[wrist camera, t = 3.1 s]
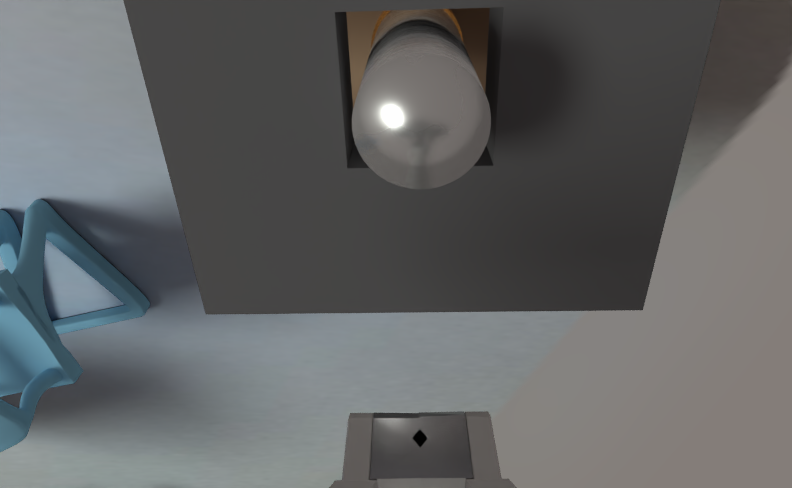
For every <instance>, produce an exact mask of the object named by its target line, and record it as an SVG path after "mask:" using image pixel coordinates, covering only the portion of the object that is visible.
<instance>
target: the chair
mask: <svg viewBox="0 0 792 488" xmlns="http://www.w3.org/2000/svg"><path fill="white" fill-rule="evenodd" d="M46 238H47V239H48V240H49V241H50V242H51V243H52V244H53V245H55V246H56V247H57V248H58V249H59V250H60V251H62V252H63V253H64V254H65V255H66V256H68V257H69V258H70V259H71V260H72V261H74V262H75V263H76V264H77V265H78V266H80V267H81V268H82V269H83V270H84V271H86V272H87V273H88V274H89V275H90V276H92V277H93V278H94V279H95V280H97V281H98V282H99V283H100V284H101V285H103V286H104V287H105V288H106V289H107V290H109V291H110V292H111V293H112V294H113V295H115V296H116V297H117V298H118V299H119V300H121V301H122V302H123V303H124V304H125V305H123V306H118V307H114V308H109V309H105V310H100V311H95V312H91V313H86V314H82V315H77V316H73V317H68V318H64V319H59V320H55V321H51V319H50V317H49V315H48V311H47V308H46V305H45V300H44V295H43V266H44V251H45V241H46ZM0 256H1V258H2V261H3V264H4V266H5V270H1V271H0V397H2V396H6V395H11V394H16V393H21V392H23V393H22V396H21V400H20V407H19V408H17V407H14V406H12V405H10V404H9V403H7V402H5V401H4V400H2V399H1V398H0V452H2V451H4V450H6V449H8V448H10V447H12V446H14V445H16V444H17V443H19V442H20V441H22V440H23V439H24V438H25V437H26V436H27V434H28V431H29V428H30V425H31V422H32V420H33V417H34V413H35V409H36V406H37V403H38V401H39V399H40V397H41V396H42V394H43V393H44V392H45V391H46V390H47V389H48V388H53V387H58V386H63V385H68V384H74V383H75V382H76V381H77V379H78V378H79V377H80V375H81V374H82V372H83V369H82V368H81V367H80V365H79V364H78V363H77V361H76V360H75V359H74V357H73V356H72V355H71V353H70V352H69V351H68V350H67V349H66V348H65V347H64V346H63V345H62V343H61V340H60V338H59V336H58V334H63V333H68V332H72V331H77V330H82V329H86V328H91V327H96V326H100V325H105V324H110V323H114V322H119V321H123V320H128V319H133V318H137V317H142V316H143V315H145V313H146V311H147V309H148V308H149V306H150V302H149V301H148V299H147V298H146V297H145V296H144V295H143V294H142V293H141V292H140V291H139V289H138V288H136V287H135V286H134V285H133V284H132V283H131V282H130V281H129V280H128V279H127V278H126V277H125V276H124V275H122V274H121V273H120V272H119V271H118V270H117V269H116V268H115V267H114V266H112V265H111V264H110V263H109V262H108V261H107V260H106V259H105V258H104V257H103V256H101V255H100V254H99V253H98V252H97V251H96V250H95V249H94V248H93V247H91V246H90V245H89V244H88V243H87V242H86V241H85V240H84V239H83V238H82V237H81V236H80V235H78V234H77V233H76V232H75V231H74V230H73V229H72V228H71V227H70V226H69V225H68V224H67V223H66V222H65V221H64V220H63V219H62V218H61V217H60V216H59V215H58V214H57V213H56V211H55V210H54V209H53V208H52V207H51V206H50V205H49V204H48V203H47V202H46V201H44V200H41V199H38V200H35V201H34V202H33V203H32V204H31V205H30V206H29V207H28V208H27V210H26V212H25V217H24V225H23V234H22V239H21V236H20V233H19V231H18V228H17V226H16V224H15V222H14V220H13V219H12V217H11V216H10V215H9V214H8V213H7V212H6V211H4V210H0Z"/></svg>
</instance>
